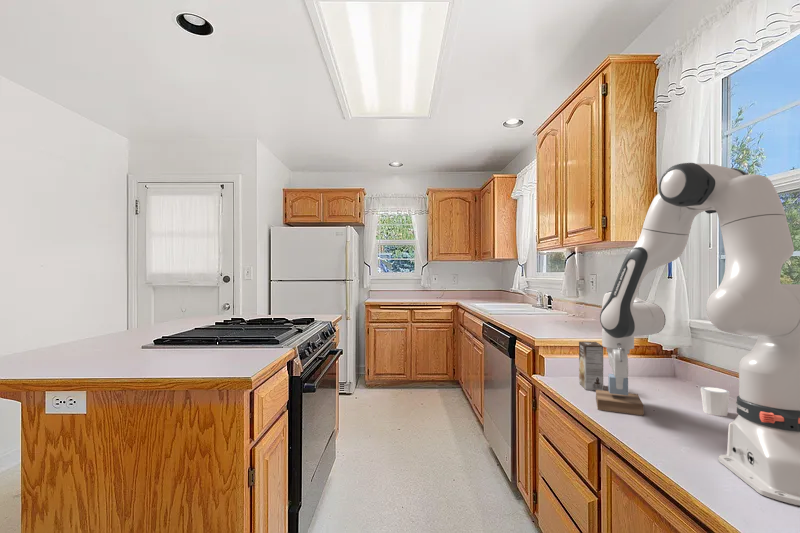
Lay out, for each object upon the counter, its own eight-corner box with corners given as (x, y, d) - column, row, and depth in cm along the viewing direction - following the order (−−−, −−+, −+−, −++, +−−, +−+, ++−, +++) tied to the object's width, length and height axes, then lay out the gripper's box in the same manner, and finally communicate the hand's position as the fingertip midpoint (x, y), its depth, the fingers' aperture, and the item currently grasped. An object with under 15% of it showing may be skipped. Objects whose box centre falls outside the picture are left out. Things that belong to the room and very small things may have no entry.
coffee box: (578, 383, 150) (578, 341, 151) (596, 384, 149) (596, 341, 149) (585, 390, 141) (585, 345, 142) (604, 391, 140) (604, 345, 140)
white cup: (735, 417, 114) (735, 393, 114) (708, 415, 115) (708, 391, 115) (721, 410, 121) (721, 387, 121) (696, 408, 122) (695, 385, 122)
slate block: (628, 395, 120) (628, 378, 120) (609, 393, 122) (609, 377, 122) (626, 391, 124) (626, 375, 125) (608, 389, 126) (608, 373, 127)
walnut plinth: (643, 415, 115) (643, 405, 115) (597, 409, 120) (597, 399, 120) (637, 403, 126) (637, 394, 126) (595, 398, 131) (595, 389, 131)
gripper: (633, 347, 113) (634, 396, 112) (625, 338, 131) (626, 379, 131) (608, 345, 115) (609, 393, 115) (604, 336, 134) (604, 377, 134)
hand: (618, 386), depth 123 cm, fingers closed on slate block, 5 cm apart
